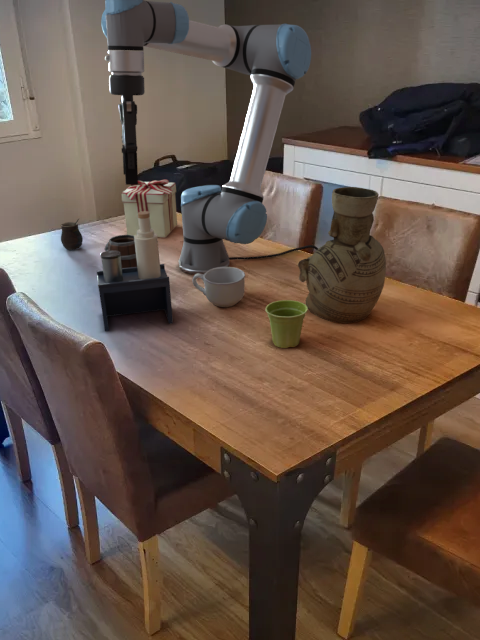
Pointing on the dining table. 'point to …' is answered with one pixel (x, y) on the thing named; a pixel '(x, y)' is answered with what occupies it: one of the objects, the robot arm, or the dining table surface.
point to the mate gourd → (71, 235)
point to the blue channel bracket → (134, 294)
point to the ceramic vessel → (346, 261)
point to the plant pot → (286, 322)
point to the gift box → (151, 206)
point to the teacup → (222, 285)
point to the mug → (124, 249)
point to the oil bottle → (146, 249)
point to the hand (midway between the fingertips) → (130, 179)
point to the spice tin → (112, 266)
